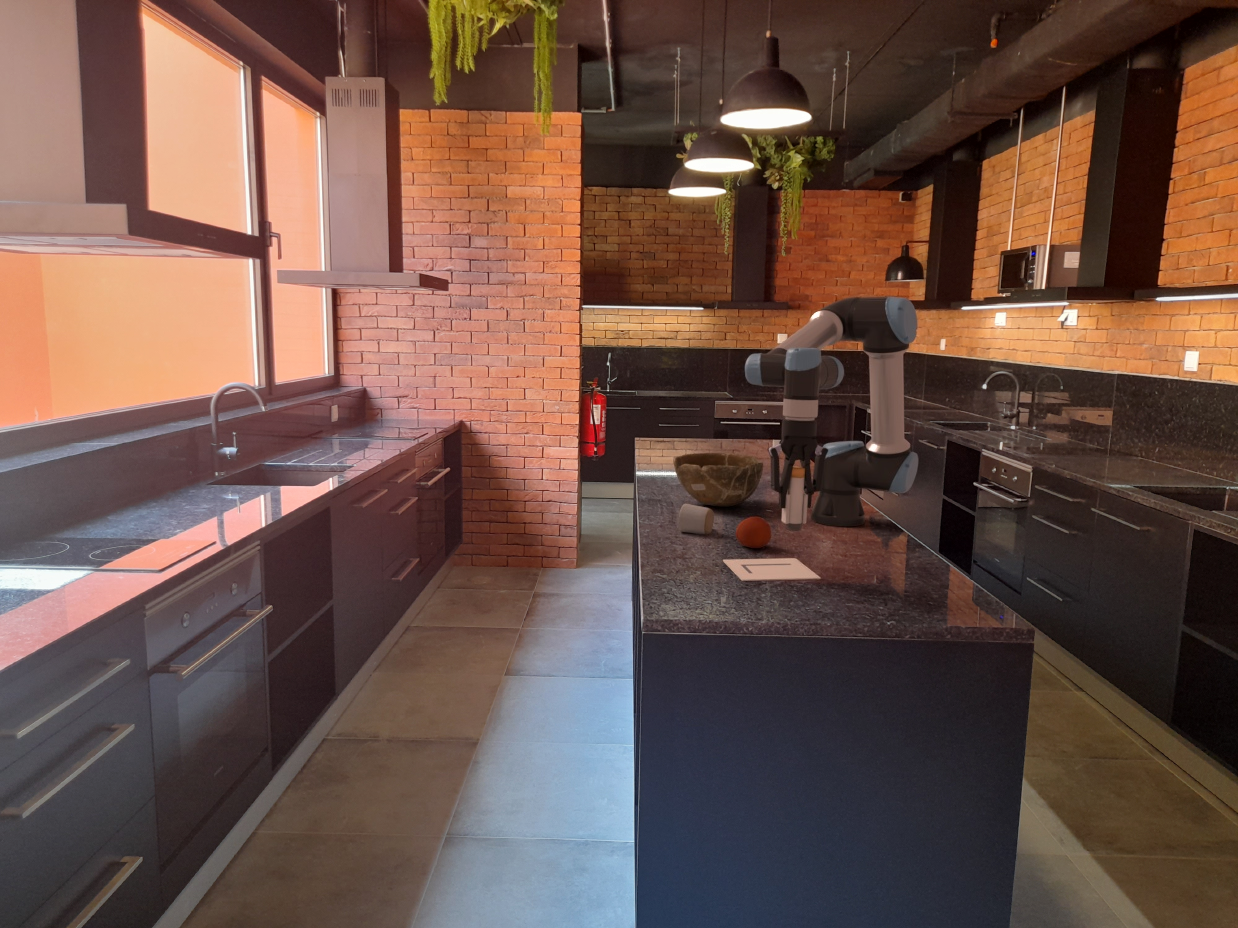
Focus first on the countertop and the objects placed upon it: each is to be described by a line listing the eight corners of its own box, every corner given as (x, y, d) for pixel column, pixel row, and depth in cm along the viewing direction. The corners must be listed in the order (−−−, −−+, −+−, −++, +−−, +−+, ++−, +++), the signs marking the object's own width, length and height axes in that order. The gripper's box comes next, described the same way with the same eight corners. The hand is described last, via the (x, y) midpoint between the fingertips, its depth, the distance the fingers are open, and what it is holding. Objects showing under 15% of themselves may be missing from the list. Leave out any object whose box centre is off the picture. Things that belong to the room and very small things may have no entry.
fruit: (748, 540, 220) (749, 510, 219) (777, 547, 214) (778, 516, 212) (727, 546, 214) (728, 515, 212) (756, 553, 207) (757, 521, 206)
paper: (795, 559, 203) (795, 557, 203) (820, 579, 187) (820, 577, 187) (722, 560, 200) (722, 559, 200) (742, 580, 185) (742, 579, 185)
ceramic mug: (706, 537, 222) (708, 509, 221) (677, 534, 225) (678, 505, 224) (717, 529, 232) (718, 502, 231) (689, 526, 235) (690, 499, 234)
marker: (798, 527, 192) (801, 466, 189) (803, 530, 188) (807, 468, 186) (783, 527, 191) (786, 466, 189) (788, 531, 188) (792, 469, 185)
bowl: (699, 518, 244) (701, 467, 242) (658, 500, 269) (659, 453, 266) (779, 512, 255) (782, 463, 253) (733, 495, 280) (735, 450, 277)
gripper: (828, 416, 191) (822, 518, 194) (758, 416, 188) (753, 518, 192) (842, 420, 183) (835, 525, 187) (769, 420, 181) (763, 526, 185)
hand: (793, 522), depth 190 cm, fingers closed on marker, 3 cm apart
